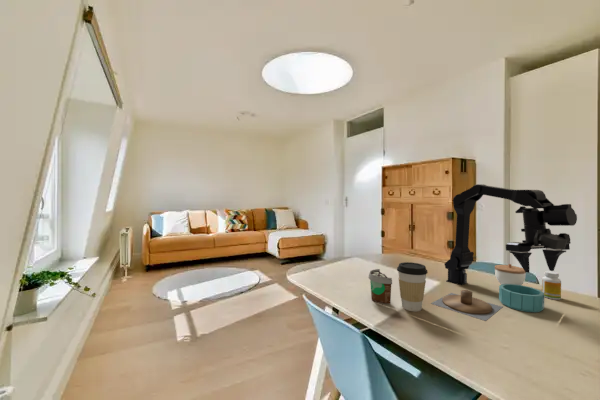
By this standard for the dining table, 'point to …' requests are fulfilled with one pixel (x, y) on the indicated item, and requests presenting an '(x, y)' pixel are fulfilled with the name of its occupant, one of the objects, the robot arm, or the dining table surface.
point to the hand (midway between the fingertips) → (539, 271)
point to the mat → (478, 316)
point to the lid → (467, 303)
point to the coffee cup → (412, 285)
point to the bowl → (521, 297)
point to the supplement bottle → (551, 285)
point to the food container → (380, 287)
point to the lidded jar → (510, 274)
